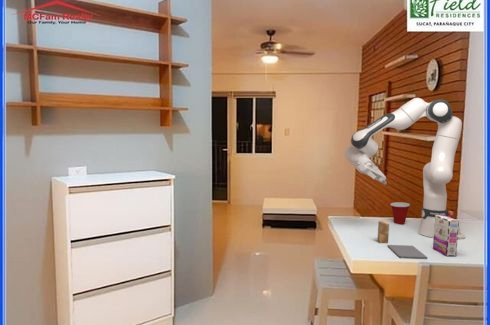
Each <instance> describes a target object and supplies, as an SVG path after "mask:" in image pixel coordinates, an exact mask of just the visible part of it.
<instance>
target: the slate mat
mask: <svg viewBox="0 0 490 325" xmlns="http://www.w3.org/2000/svg"><path fill="white" fill-rule="evenodd" d="M386 247H388V249H390V250H391V252H393V253H394V254H395V255H396V257H398V258H399V259H413V260H414V259H416V260H417V259H418V260H419V259H420V260H428V257H427V256H426V255H425V254H424V253H423V252H421V251H420V250H419V249H418V248H416V247H415V246H414V245H406V244H405V245H399V244H387V246H386Z"/></svg>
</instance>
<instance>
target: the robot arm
mask: <svg viewBox="0 0 490 325" xmlns="http://www.w3.org/2000/svg"><path fill="white" fill-rule="evenodd" d="M421 118H425V119H427V120H429V121H430V122H436V123H437V131H436V135H435V138H434V141H433V145H432V147H431V148H432V149H431V158H430V161H429V162H427V163H426V164H425V165H424V166H423V168H422V173H423V174H422V180H423V182H422V183H423V203H422V207H421V221H420V225H419V228H418V231H417V232H418V234H419V235H422V236H425V237H429V238H433V239H434V226H435V215H445V216H447V217H450V216H453V215H454V211H451V210H448V209H447V200H448V194H447V187H446V184H448V183H450V182H451V180H453V176H454V175H453V171H454V170H453V169H454V165H455V164H454V163H455V156H456V151H457V149H458V145H459V141H460V138H461V135H462V129H463V128H462V127H463V121H462V120H461V118H459V117H457V116H454V114H453V109H452V106H451V104H450V103H449V102H448V101H446V99H445V100H444V99H441V98H440V99H439V98H438V99H435V100H432V101H431V102H426V101H425V100H424V99H422V98H420V97H414V98H412V99H411V100H409V101H407V102H406V103H404V104H403V105H401V106H400V107H399V108H398V109H396V110H394V111H393V112H389V113H386V114H385V113H384V115H382V116H380V117H379V118H376V120H374V121H373V122H371V123H369V124H368V125H366V126H365V127H363V128H360V129H358V130H356V131H355V132H354V133H353V134H352V136H351V138H350V142H351V144H350V145H348V146H347V147H346V148H345V150H344V156H345V158H346V160H347V161H348V162H349V163H350V164H351V165H352V166H354V168H355V169H356V170H357V171H358V172H359V173H360V174H362V175H365V176H369V177H370V178H372V180H376V181H378V182H380V183H382V184H383V185H386V184H387V183H388V182H387V181H386V180H387V177H386V175H385V174H384V173H383V172H382V171H381V170H380V169H379V167H378V165H376V164H375V163H374V161H372V160H371V158H373V157H374V156H375V155H376V154H377V153H378V151H379V149H380V148H379V147H380V146H379V143H378V142H377V141H376V140H375V139H373V136H374V135H376V134H377V133H379V132H381V131H382V130H384V129H386V128H393V129H395V130H401V131H402V130H406V129H408V128H409V127H412V126H413V124H415V123H416V122H417V121H418V120H420V119H421ZM459 239H460V240H462V239H464V240H465V239H466V236H465V234H464V233H462V232H461V226H460V225H459V228H458V240H459Z"/></svg>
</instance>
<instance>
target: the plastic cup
mask: <svg viewBox="0 0 490 325" xmlns="http://www.w3.org/2000/svg"><path fill="white" fill-rule="evenodd" d="M410 205H411V204H410V203H408V202H403V201H402V202H399V201H398V202H392V203H390V206H391V209H392V210H391V211H392V216H393V223H394V224H395V225H405V224H406V219H407V216H408V212H409V208H410Z"/></svg>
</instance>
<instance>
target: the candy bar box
mask: <svg viewBox="0 0 490 325" xmlns="http://www.w3.org/2000/svg"><path fill="white" fill-rule="evenodd" d="M459 226H460V221H459V220H458V219H456V218H452V217H450V216H449V217H447V216H445V215H435V226H434V238H433V242H432V249H433V250H434V251H436V252H438V253H440V254H442V255H443V256H446V257H457V248H458V240H459V239H458V228H459Z"/></svg>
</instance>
